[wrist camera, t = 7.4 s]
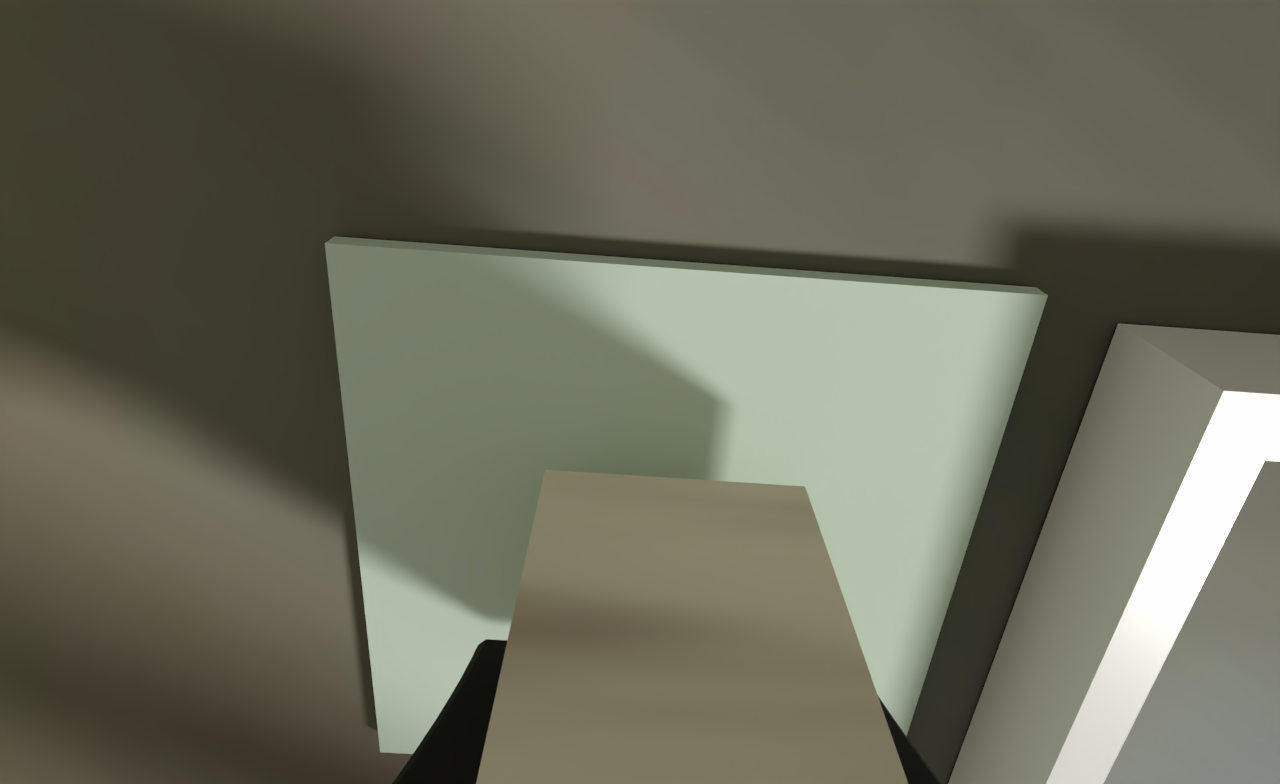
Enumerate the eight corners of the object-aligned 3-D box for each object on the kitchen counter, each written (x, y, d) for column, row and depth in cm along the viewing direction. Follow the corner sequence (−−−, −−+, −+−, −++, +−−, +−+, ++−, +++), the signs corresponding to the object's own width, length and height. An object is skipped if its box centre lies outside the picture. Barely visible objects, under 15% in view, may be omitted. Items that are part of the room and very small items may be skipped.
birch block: (759, 717, 14) (835, 1175, 8) (539, 705, 14) (470, 1161, 8) (805, 486, 12) (948, 900, 6) (544, 469, 12) (454, 877, 6)
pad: (887, 763, 17) (892, 779, 17) (385, 736, 17) (380, 752, 16) (1036, 287, 12) (1047, 295, 12) (335, 236, 12) (324, 243, 11)
